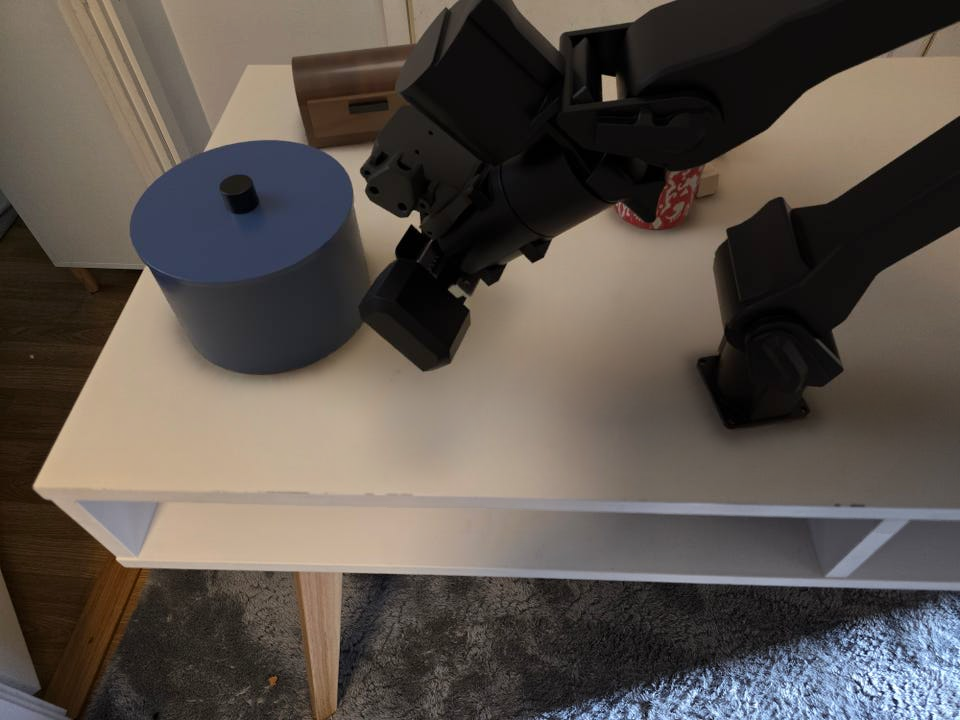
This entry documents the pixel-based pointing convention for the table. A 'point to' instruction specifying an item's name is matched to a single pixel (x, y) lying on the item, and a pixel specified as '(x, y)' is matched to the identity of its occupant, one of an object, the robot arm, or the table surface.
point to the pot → (256, 253)
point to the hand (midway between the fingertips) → (392, 282)
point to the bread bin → (348, 93)
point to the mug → (669, 200)
